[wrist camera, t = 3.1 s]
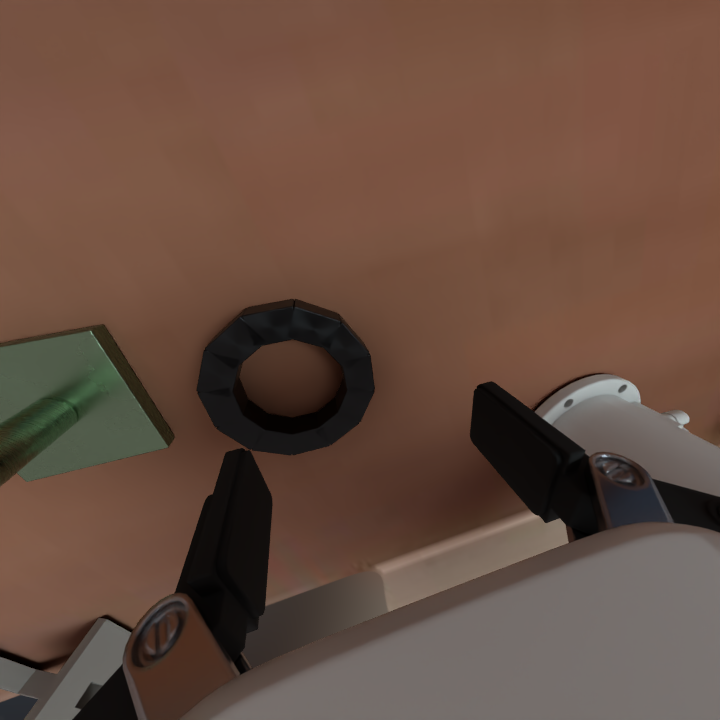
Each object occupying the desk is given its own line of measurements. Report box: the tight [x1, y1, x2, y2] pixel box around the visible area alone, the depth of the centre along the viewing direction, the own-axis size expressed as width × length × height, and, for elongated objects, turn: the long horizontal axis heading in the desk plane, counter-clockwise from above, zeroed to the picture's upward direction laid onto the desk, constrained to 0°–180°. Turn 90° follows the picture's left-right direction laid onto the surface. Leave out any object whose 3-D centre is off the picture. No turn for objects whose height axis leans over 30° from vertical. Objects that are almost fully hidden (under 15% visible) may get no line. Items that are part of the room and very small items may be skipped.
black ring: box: [197, 299, 375, 455], centre depth 16 cm, size 10×10×2 cm
